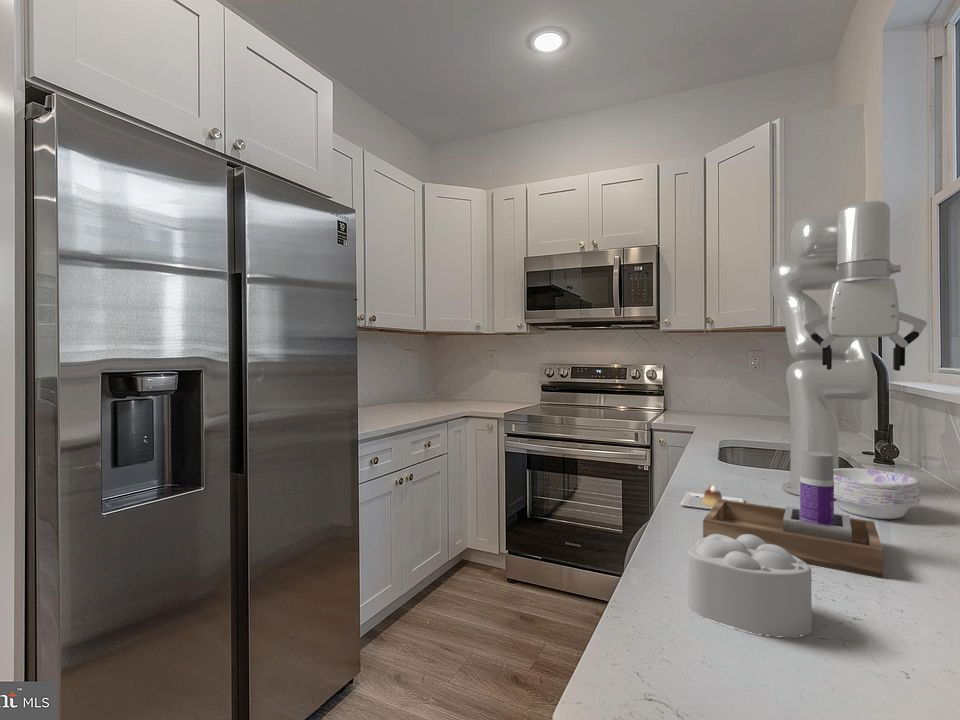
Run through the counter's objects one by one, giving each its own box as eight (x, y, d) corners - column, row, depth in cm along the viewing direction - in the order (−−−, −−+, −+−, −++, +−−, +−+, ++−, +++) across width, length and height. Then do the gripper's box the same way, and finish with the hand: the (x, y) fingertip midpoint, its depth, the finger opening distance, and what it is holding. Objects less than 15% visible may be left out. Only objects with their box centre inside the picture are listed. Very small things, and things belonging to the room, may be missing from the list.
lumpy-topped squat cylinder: (702, 584, 70) (702, 522, 70) (814, 612, 62) (814, 542, 62) (682, 614, 62) (682, 544, 62) (808, 651, 54) (808, 570, 54)
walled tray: (719, 519, 99) (719, 499, 99) (873, 545, 85) (873, 521, 85) (703, 543, 86) (703, 520, 86) (882, 578, 72) (882, 550, 72)
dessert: (686, 496, 118) (686, 476, 118) (744, 503, 112) (744, 482, 112) (680, 509, 107) (680, 487, 107) (743, 518, 102) (743, 494, 102)
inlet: (786, 531, 90) (786, 506, 90) (849, 542, 84) (849, 515, 84) (783, 547, 82) (783, 519, 82) (851, 559, 77) (851, 530, 77)
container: (839, 550, 81) (839, 456, 81) (806, 548, 82) (807, 455, 82) (825, 540, 85) (826, 451, 85) (795, 538, 86) (795, 450, 86)
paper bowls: (809, 507, 108) (809, 470, 108) (854, 499, 114) (854, 464, 114) (891, 529, 94) (891, 486, 94) (936, 519, 100) (936, 479, 100)
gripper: (923, 272, 88) (922, 370, 88) (806, 280, 98) (805, 368, 98) (930, 266, 82) (929, 371, 82) (804, 275, 92) (803, 369, 92)
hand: (861, 369), depth 90 cm, fingers open, 9 cm apart
